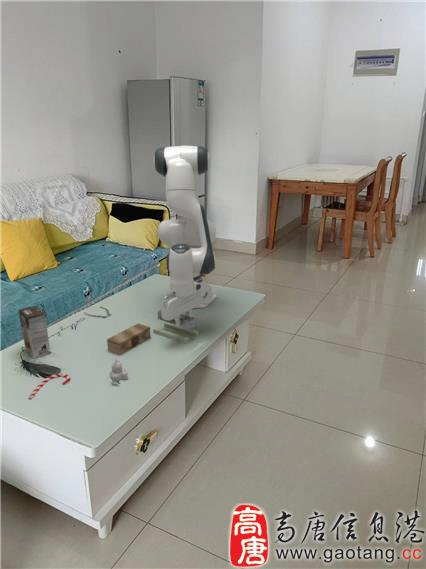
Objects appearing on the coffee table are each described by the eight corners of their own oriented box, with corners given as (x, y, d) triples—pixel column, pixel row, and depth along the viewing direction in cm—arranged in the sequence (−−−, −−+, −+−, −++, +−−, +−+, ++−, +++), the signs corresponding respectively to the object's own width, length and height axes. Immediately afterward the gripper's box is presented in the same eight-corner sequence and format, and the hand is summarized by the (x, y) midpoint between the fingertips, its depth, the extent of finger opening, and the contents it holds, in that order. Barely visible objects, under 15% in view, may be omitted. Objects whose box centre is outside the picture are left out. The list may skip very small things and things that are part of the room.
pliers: (97, 305, 198) (131, 313, 189) (97, 307, 199) (132, 315, 189) (81, 313, 190) (117, 322, 181) (82, 314, 191) (117, 324, 181)
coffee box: (24, 349, 160) (17, 309, 155) (42, 344, 164) (36, 304, 159) (33, 359, 154) (26, 317, 148) (51, 353, 158) (45, 312, 152)
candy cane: (20, 394, 132) (56, 370, 145) (21, 398, 133) (56, 373, 146) (40, 400, 129) (74, 375, 142) (40, 404, 130) (75, 379, 143)
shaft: (163, 316, 172) (162, 308, 171) (195, 326, 163) (195, 318, 162) (157, 319, 169) (157, 311, 168) (190, 329, 161) (190, 321, 160)
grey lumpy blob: (116, 374, 144) (114, 353, 142) (133, 378, 142) (131, 357, 139) (106, 382, 140) (103, 360, 137) (123, 387, 137) (121, 365, 134)
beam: (139, 337, 169) (138, 323, 167) (150, 341, 166) (149, 327, 164) (108, 354, 157) (106, 339, 155) (120, 358, 154) (118, 343, 152)
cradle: (167, 328, 177) (167, 321, 176) (199, 338, 168) (199, 331, 167) (153, 336, 170) (153, 329, 169) (185, 347, 162) (185, 340, 161)
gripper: (170, 299, 150) (171, 335, 155) (204, 282, 166) (204, 316, 171) (156, 295, 153) (158, 330, 158) (191, 279, 169) (192, 312, 174)
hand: (182, 323), depth 164 cm, fingers closed on shaft, 3 cm apart
